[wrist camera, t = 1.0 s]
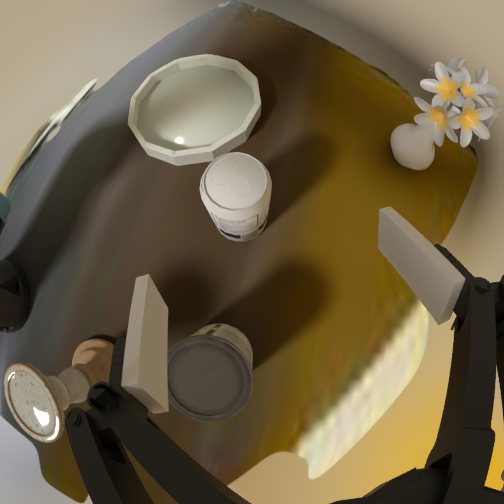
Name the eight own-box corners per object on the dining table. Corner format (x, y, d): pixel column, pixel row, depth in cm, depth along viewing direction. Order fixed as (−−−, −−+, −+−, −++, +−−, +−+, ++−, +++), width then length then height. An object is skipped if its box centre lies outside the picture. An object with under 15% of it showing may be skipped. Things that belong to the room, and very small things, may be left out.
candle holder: (103, 414, 41) (38, 459, 21) (65, 359, 42) (-12, 379, 22) (147, 384, 42) (86, 432, 22) (105, 324, 43) (25, 335, 23)
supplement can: (204, 216, 46) (182, 181, 31) (242, 182, 47) (237, 135, 32) (239, 253, 45) (232, 232, 30) (277, 217, 46) (288, 181, 31)
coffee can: (230, 398, 42) (221, 437, 28) (175, 362, 42) (144, 387, 28) (266, 346, 43) (272, 368, 29) (210, 309, 44) (190, 315, 30)
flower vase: (356, 165, 47) (421, 74, 22) (397, 111, 49) (453, 31, 24) (410, 213, 46) (505, 156, 21) (444, 152, 48) (516, 89, 23)
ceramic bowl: (113, 143, 48) (105, 134, 45) (175, 58, 51) (172, 47, 48) (223, 183, 47) (221, 175, 43) (278, 83, 50) (279, 72, 46)
